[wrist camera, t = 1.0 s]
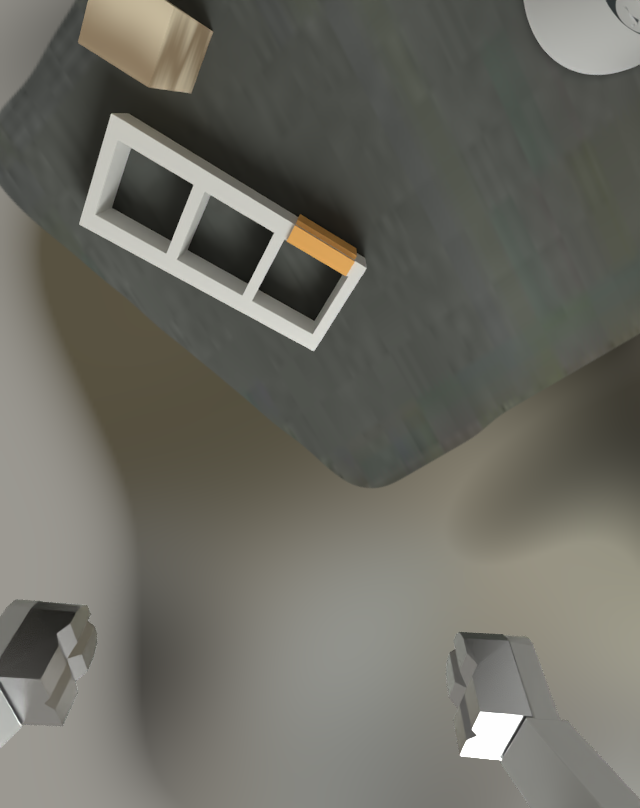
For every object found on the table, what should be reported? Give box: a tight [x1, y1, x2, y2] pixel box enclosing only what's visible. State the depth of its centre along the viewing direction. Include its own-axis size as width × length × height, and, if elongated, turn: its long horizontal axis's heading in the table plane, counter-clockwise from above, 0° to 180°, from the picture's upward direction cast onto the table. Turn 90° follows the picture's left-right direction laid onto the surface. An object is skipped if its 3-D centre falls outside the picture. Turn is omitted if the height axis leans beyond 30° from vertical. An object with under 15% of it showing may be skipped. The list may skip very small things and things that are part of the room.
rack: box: [79, 113, 367, 351], centre depth 43 cm, size 10×24×4 cm, turn 60°
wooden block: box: [78, 0, 213, 93], centre depth 33 cm, size 5×5×10 cm
